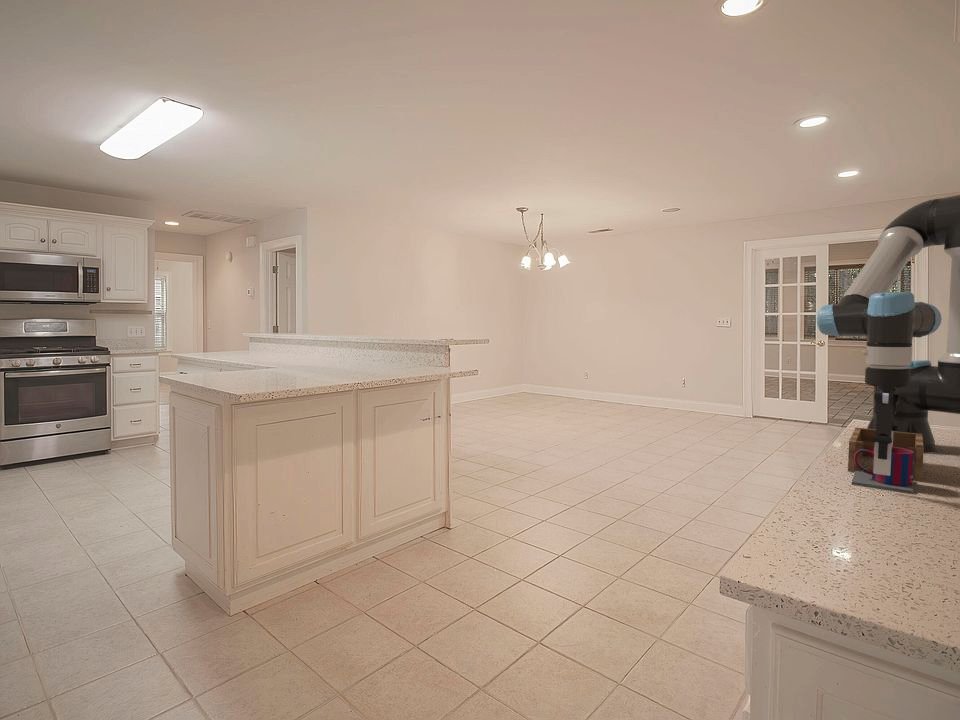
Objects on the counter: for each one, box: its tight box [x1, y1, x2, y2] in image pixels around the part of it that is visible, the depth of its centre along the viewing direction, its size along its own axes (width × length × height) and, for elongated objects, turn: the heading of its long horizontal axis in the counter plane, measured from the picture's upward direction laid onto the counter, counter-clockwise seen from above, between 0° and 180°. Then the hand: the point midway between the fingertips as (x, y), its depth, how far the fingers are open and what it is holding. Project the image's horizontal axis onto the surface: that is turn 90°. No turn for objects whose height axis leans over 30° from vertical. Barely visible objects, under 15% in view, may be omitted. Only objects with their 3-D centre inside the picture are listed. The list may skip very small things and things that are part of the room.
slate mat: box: [851, 471, 914, 495], centre depth 111 cm, size 10×10×1 cm
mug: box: [854, 447, 914, 486], centre depth 111 cm, size 7×10×7 cm
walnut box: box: [847, 427, 925, 482], centre depth 123 cm, size 19×13×7 cm
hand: (883, 466), depth 111 cm, fingers open, 13 cm apart
